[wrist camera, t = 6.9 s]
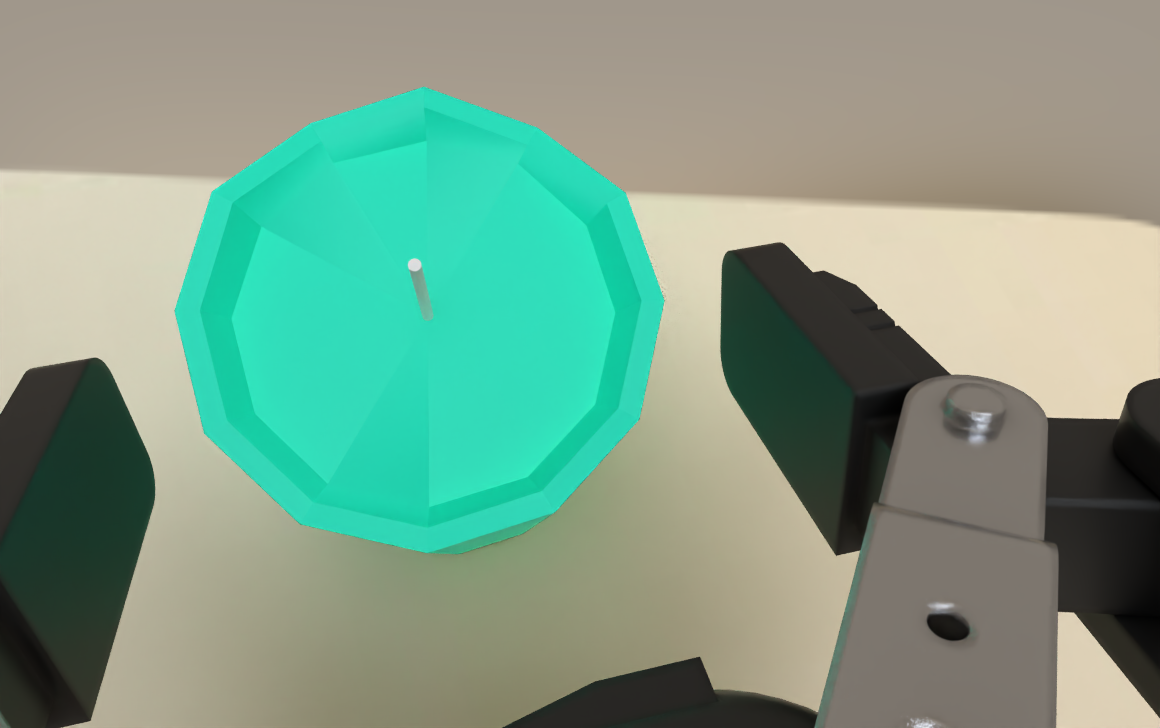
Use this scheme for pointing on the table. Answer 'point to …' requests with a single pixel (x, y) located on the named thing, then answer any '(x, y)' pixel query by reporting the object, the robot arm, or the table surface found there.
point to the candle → (419, 323)
